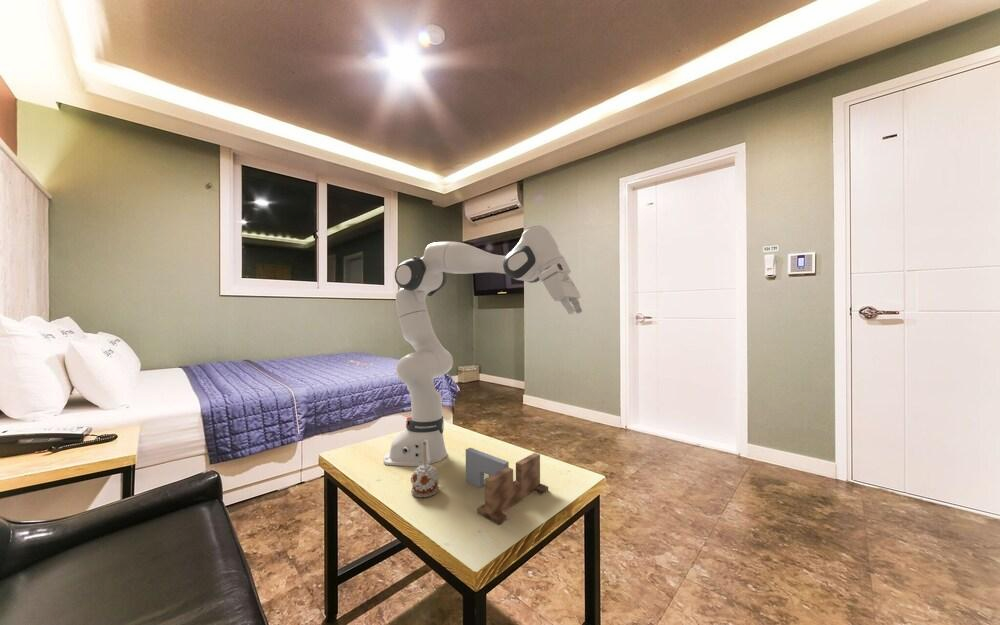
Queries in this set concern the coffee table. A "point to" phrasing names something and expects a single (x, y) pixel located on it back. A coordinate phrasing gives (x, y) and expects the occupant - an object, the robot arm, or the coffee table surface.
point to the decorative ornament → (424, 479)
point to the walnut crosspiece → (511, 488)
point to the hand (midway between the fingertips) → (576, 313)
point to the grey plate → (482, 466)
